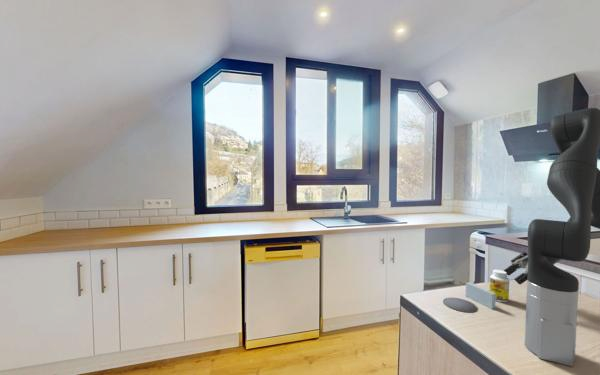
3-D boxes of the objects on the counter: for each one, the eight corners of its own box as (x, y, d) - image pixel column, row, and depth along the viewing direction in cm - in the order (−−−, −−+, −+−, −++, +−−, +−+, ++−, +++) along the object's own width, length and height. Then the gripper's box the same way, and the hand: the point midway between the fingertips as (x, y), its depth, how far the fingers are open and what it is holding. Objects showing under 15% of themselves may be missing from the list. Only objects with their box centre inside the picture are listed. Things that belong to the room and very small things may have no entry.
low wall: (495, 308, 88) (495, 293, 88) (491, 309, 88) (492, 294, 88) (468, 295, 98) (469, 282, 98) (465, 296, 98) (466, 282, 97)
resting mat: (479, 315, 84) (479, 314, 84) (443, 307, 89) (443, 306, 88) (474, 302, 93) (474, 301, 93) (442, 296, 97) (442, 295, 97)
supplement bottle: (485, 296, 97) (486, 269, 97) (496, 295, 99) (497, 268, 98) (501, 303, 92) (502, 274, 92) (512, 301, 94) (513, 273, 93)
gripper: (532, 236, 98) (494, 263, 102) (556, 245, 84) (511, 276, 88) (549, 251, 96) (510, 278, 100) (576, 263, 83) (530, 294, 87)
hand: (511, 277), depth 94 cm, fingers open, 8 cm apart
